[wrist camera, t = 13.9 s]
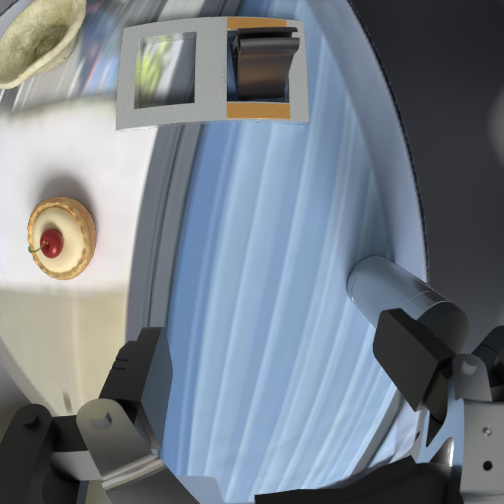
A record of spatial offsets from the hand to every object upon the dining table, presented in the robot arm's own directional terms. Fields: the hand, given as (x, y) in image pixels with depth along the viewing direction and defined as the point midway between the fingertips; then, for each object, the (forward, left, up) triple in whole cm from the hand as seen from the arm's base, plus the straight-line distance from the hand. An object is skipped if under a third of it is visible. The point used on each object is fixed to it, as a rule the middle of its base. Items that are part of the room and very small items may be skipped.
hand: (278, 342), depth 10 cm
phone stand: (-3, -20, -30) cm, 37 cm away
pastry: (+26, +2, -30) cm, 40 cm away
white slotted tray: (+3, -20, -30) cm, 36 cm away
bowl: (+29, -30, -30) cm, 52 cm away
